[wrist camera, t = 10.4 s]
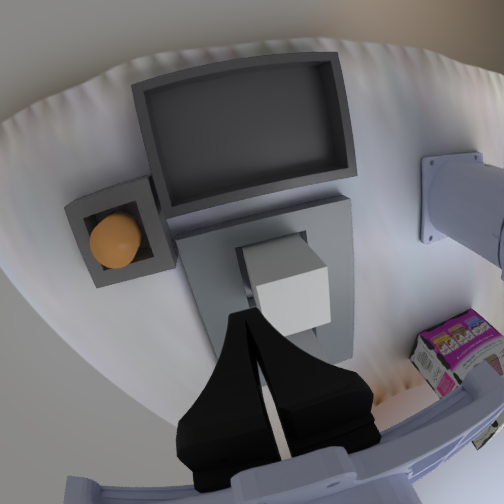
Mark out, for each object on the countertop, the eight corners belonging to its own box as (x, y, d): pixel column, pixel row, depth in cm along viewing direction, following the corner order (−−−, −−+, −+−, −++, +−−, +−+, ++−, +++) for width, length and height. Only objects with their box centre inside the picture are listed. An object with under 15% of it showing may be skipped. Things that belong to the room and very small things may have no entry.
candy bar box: (407, 361, 31) (475, 453, 16) (416, 332, 29) (498, 429, 14) (463, 334, 32) (528, 403, 17) (472, 306, 30) (547, 377, 15)
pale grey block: (294, 229, 21) (327, 266, 15) (300, 276, 22) (330, 321, 17) (240, 243, 20) (256, 286, 15) (251, 290, 22) (268, 340, 17)
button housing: (153, 173, 17) (147, 177, 15) (177, 255, 20) (175, 268, 18) (75, 199, 17) (63, 207, 15) (104, 274, 19) (96, 288, 18)
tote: (321, 59, 16) (337, 51, 14) (340, 170, 19) (357, 175, 17) (140, 90, 15) (131, 84, 13) (169, 208, 18) (164, 219, 16)
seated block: (305, 317, 24) (331, 365, 19) (308, 349, 26) (331, 395, 20) (260, 330, 24) (277, 382, 18) (268, 361, 26) (283, 410, 20)
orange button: (133, 205, 17) (126, 214, 15) (148, 248, 18) (143, 261, 16) (93, 218, 16) (82, 228, 15) (108, 259, 18) (100, 273, 16)
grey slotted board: (342, 195, 20) (350, 198, 19) (347, 350, 27) (352, 357, 26) (177, 234, 19) (175, 240, 18) (230, 384, 26) (232, 393, 25)
